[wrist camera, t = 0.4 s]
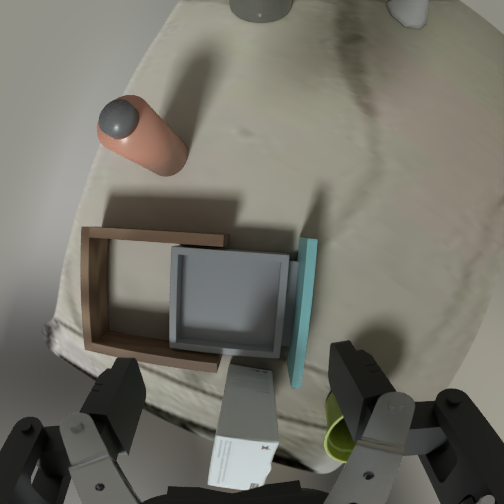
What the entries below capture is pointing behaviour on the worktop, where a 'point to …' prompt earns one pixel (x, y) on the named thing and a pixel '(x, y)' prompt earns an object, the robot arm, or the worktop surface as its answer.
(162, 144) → the bottle
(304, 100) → the worktop surface
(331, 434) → the plant pot
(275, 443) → the skincare box
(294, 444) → the worktop surface
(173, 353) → the wooden storage box
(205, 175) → the worktop surface
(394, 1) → the flask
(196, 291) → the tray
